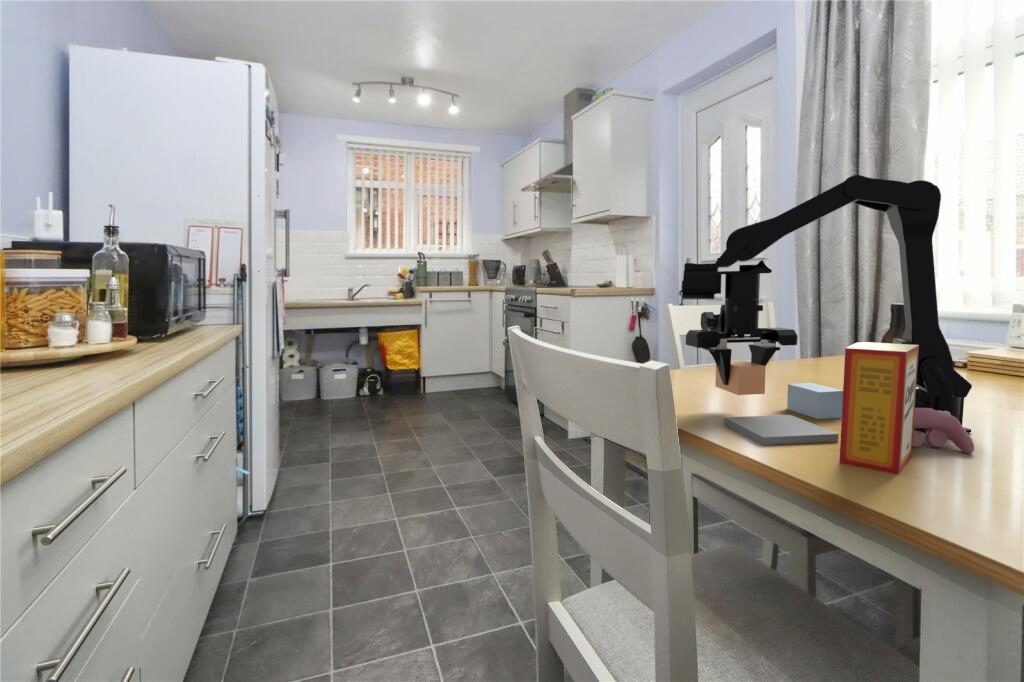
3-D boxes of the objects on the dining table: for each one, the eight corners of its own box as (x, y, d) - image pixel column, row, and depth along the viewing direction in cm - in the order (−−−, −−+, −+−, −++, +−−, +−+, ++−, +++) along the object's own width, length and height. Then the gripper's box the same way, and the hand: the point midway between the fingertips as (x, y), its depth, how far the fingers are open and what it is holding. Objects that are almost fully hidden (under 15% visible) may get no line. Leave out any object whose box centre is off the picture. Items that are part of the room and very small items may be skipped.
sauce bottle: (869, 406, 102) (875, 303, 100) (882, 401, 106) (887, 302, 104) (909, 412, 97) (916, 304, 95) (920, 407, 101) (927, 303, 99)
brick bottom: (739, 385, 102) (740, 359, 101) (764, 393, 94) (765, 366, 93) (715, 386, 101) (715, 360, 100) (738, 395, 93) (739, 367, 93)
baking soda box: (856, 446, 78) (862, 339, 76) (911, 456, 73) (919, 342, 72) (839, 462, 71) (845, 345, 70) (898, 474, 67) (906, 349, 65)
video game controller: (957, 457, 77) (945, 410, 80) (980, 453, 73) (966, 403, 75) (885, 456, 78) (875, 410, 80) (904, 452, 74) (893, 403, 76)
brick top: (809, 408, 102) (810, 382, 102) (842, 418, 95) (844, 390, 94) (787, 409, 102) (788, 384, 101) (818, 420, 94) (819, 392, 93)
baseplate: (789, 421, 92) (790, 414, 92) (838, 441, 81) (838, 433, 80) (724, 424, 91) (724, 417, 91) (763, 445, 79) (763, 437, 79)
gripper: (765, 297, 104) (762, 375, 106) (674, 299, 103) (673, 378, 104) (801, 298, 93) (797, 385, 95) (699, 300, 92) (698, 389, 93)
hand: (739, 384), depth 97 cm, fingers closed on brick bottom, 5 cm apart
